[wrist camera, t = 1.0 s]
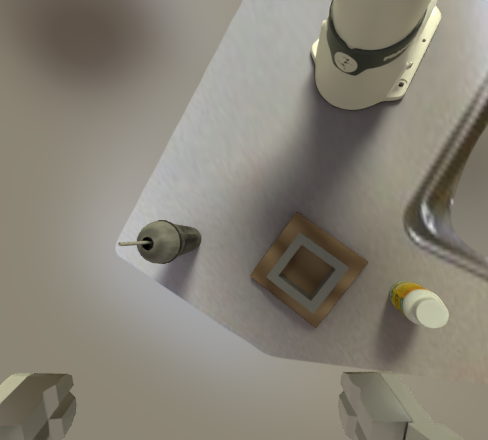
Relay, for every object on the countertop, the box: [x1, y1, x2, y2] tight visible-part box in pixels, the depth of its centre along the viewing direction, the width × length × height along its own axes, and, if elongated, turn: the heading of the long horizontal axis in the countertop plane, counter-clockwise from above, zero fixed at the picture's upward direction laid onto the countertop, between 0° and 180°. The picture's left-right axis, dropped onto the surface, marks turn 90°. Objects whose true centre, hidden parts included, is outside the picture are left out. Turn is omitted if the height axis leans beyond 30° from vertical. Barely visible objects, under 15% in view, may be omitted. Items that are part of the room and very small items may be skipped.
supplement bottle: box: [390, 281, 449, 329], centre depth 40 cm, size 5×5×10 cm
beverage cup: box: [118, 220, 201, 264], centre depth 44 cm, size 7×7×20 cm
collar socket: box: [250, 212, 368, 328], centre depth 46 cm, size 15×15×5 cm
